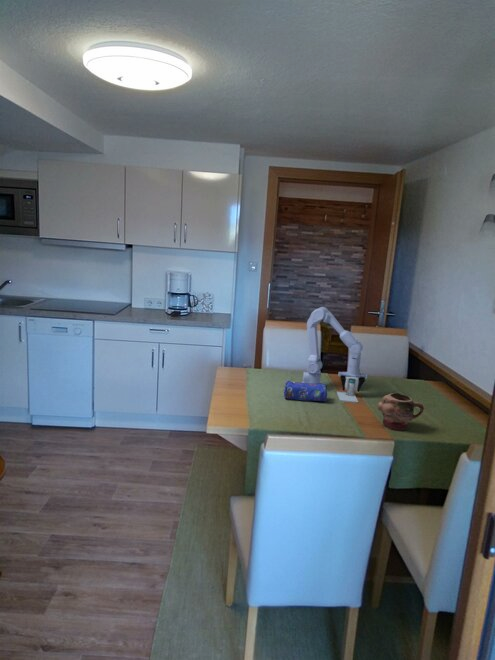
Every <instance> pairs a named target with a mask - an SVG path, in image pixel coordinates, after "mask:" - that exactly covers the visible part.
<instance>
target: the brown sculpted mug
mask: <svg viewBox="0 0 495 660" xmlns="http://www.w3.org/2000/svg"><path fill="white" fill-rule="evenodd" d="M376 405H377V409H378V411H380V412H381V414H382V416H383V419H382V424H383V426H385V428H386V429H389V430H392V431H399V430H402V431H405V430H406V429H407V428H408V427H407V426H408V422H410V421H413V420H415V419H416V418H418V417H420V416H421V415H422V414H423V413H424V410H425V406H424V405H423V404H422V403H421V402H419V401H413V399H412V398H411V397H410V396H408V395H406V394H401V393H399V392H393V393H389V394H386V395H384V396H382V398H381V401H379V402H378V403H377V404H376ZM416 407H417V408H419V409H420V411H419V412H418V413H417V414H415V413H414V411H415V410H414V409H415V408H416Z"/></svg>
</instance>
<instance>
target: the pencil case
mask: <svg viewBox="0 0 495 660" xmlns="http://www.w3.org/2000/svg"><path fill="white" fill-rule="evenodd" d="M283 396H284V399H286V398H287V400H294V399H295V401H305V402H308V401H309V402H324V403H326V402H327V398H328V391H327V385H326V384H325V383H323V382H320V383H316V384H313V383H311V384H309V383H302V382H296V381H294V380H292V379H290V380H288V381H286V383H285V385H284V386H283Z"/></svg>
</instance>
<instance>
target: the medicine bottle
mask: <svg viewBox="0 0 495 660" xmlns="http://www.w3.org/2000/svg"><path fill="white" fill-rule="evenodd" d="M359 372H360V368H359ZM350 378H351V379H355V380H356V381H355V388H354V392H355V391H357V388H358V378H355V377H346V382H345V390H346V391H347V390H348V381H349V379H350ZM357 392H358V391H357Z"/></svg>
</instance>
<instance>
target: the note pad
mask: <svg viewBox="0 0 495 660" xmlns="http://www.w3.org/2000/svg"><path fill="white" fill-rule="evenodd" d="M336 395H337V397H338V399H339V401H340V402H345V403H346V402H347V403H357V404H358V403H359V400H358V397H356V395H355V393H354V396H348V395H347V392H346V391H338V390H337V391H336Z"/></svg>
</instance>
